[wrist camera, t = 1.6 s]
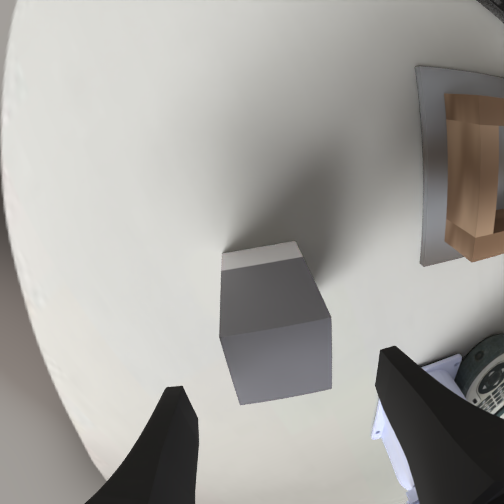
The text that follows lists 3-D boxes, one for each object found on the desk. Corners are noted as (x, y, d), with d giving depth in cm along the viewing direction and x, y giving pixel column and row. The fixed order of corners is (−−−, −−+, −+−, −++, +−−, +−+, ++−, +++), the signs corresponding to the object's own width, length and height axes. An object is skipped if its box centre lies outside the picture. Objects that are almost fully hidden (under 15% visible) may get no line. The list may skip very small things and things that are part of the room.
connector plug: (301, 301, 19) (331, 388, 13) (235, 313, 19) (240, 405, 13) (295, 240, 17) (331, 317, 11) (222, 253, 17) (219, 337, 11)
